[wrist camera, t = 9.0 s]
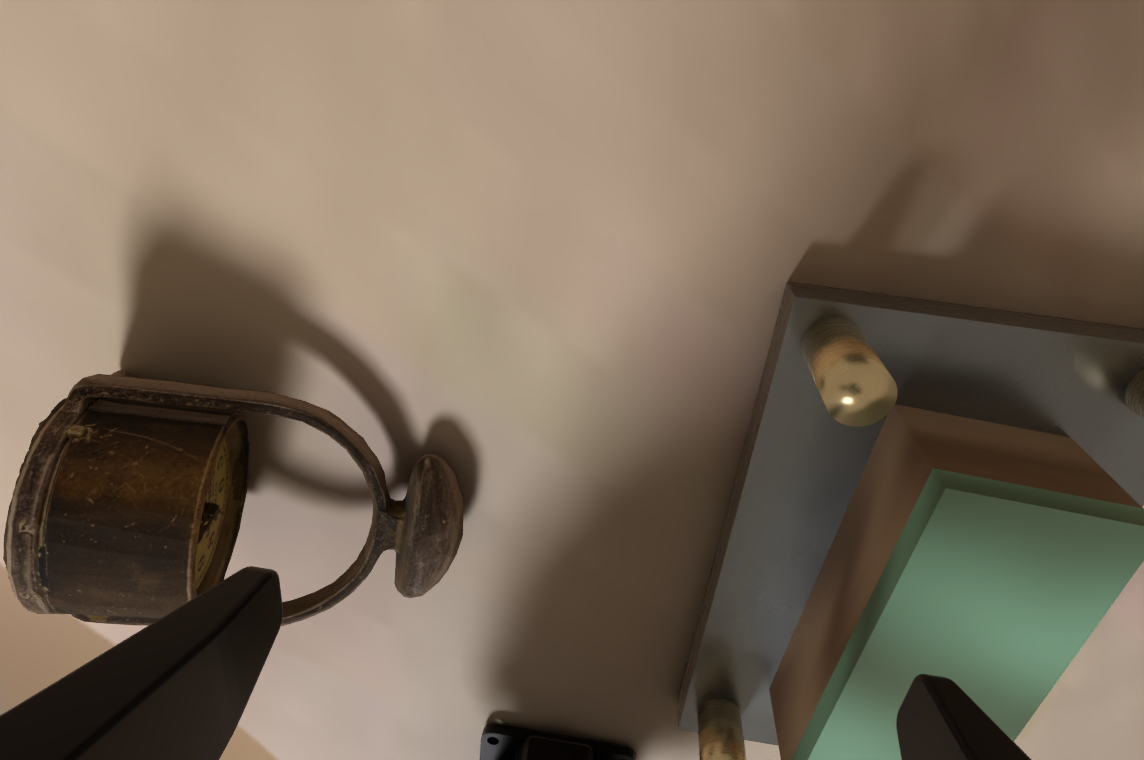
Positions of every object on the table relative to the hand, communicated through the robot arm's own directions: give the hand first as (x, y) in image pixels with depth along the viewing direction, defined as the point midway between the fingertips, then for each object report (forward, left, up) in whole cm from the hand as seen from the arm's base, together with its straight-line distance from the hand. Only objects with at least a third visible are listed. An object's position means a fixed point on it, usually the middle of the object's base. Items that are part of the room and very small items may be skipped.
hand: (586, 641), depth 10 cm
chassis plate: (-7, -10, -12) cm, 17 cm away
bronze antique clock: (-8, +11, -12) cm, 18 cm away
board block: (-7, -10, -11) cm, 16 cm away
